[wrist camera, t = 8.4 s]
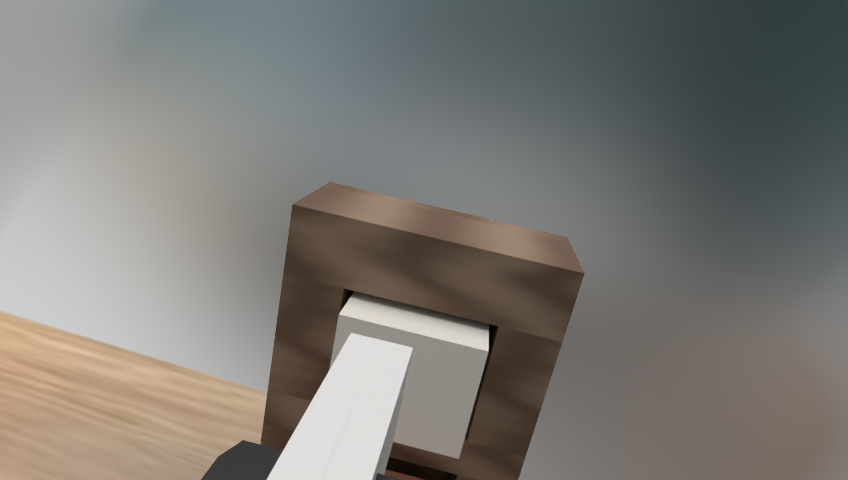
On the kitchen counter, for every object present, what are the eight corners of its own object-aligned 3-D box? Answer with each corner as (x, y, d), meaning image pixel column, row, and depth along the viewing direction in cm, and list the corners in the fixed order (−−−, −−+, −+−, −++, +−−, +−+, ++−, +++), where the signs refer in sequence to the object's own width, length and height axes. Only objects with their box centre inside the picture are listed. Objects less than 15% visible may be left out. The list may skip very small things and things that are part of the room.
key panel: (470, 555, 37) (566, 237, 30) (466, 640, 31) (584, 273, 24) (280, 503, 38) (329, 182, 31) (242, 577, 32) (292, 204, 25)
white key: (464, 400, 30) (489, 306, 28) (458, 459, 26) (488, 351, 24) (347, 370, 31) (364, 276, 29) (320, 422, 26) (338, 314, 24)
